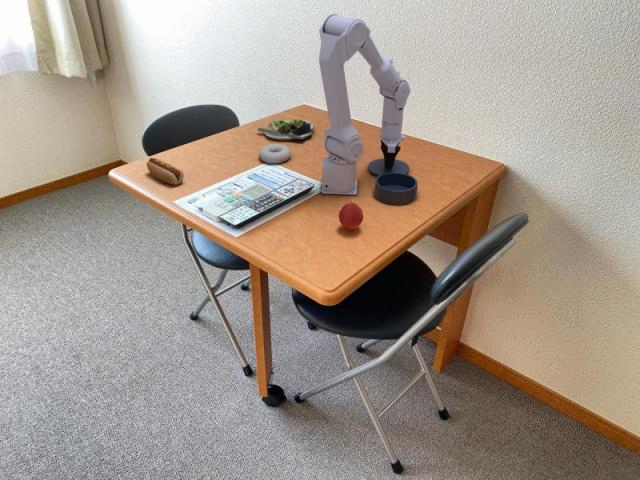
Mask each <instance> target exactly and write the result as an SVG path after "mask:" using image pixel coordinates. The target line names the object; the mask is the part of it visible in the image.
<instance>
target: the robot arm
mask: <svg viewBox="0 0 640 480" xmlns="http://www.w3.org/2000/svg"><path fill="white" fill-rule="evenodd" d="M318 32H319V38H320V48H319V56H318V63H319V69H320V74H321V75H320V76H321V80H322V81H321V82H322V86H323V92H324V99H325V104H326V110H327V115H328V122H329V126H327V128H326V129H325V130H324V142H323V146H324V149H325V151H326V152H327V153H328V156H327V157H323V158H322V163H321V164H322V165H321V179H320V180H321V182H320V183H321V194H324V195H347V196H349V195H351V196H356V195H357V193H358V180H357V164H358V163H357V162H359V160H360V159H361V157H362V156H363V154H364V147H365V146H364V143H363V142H362V140H361V138H360V137H361V136H360V133H359V132H358V130H357V129H356V128H355V127H354V125H353V123H352V115H351V109H350V103H349V95H348V87H347V81H346V74H345V73H346V72H345V66H344V65H345V64H346V62H349V61H350V59H351V58H352V57H353V56H354V55H355V54H357V52H358V53H359V54H360V55H361V56H362V58H363V59H364V60H365V61H366V62H367V64H368V65H369V66H370V68H369V74H370V75H371V77H372V78H373V79H374V81H375V82H376V83H377V85H378V87H379V89H378V90H379V94H380V95H381V96H382V97H383V101H382V102H383V103H382V117H381V128H380V129H381V131H380V135H379V139H380V150H381V152H382V156H383V158H384V164H385V168H392V167H393V165H394V161H395V159H397V156H398V154H399V153H400V151H401V150H402V149H401V146H400V143H401V141H405V140H406V135H404V134H402V131H403V121H404V110H405V107H406V105H407V100H408V98H409V97H410V94H411V91H412V90H411V88H410V84H409V82H408V81H407V80H406V79H403V78H402V77H401V73H400V72H399V71H397V70H396V67H395V66H394V65H393V64H394V61H393V59H391V58H388V57H383V56H382V55H381V53H380V51H379V49H378V47H377V46H376V44H375V42H374V40H373V39H372V37H371V29H370V28H369V27H368V25H367V23H366V22H365V21H364V20H363V19H361V18H353V17H348V16H344V15H339V14H338V13H337V14H336V13H330V14H329V15H327V16H326V17H325V18H324V20H323V22H322V24H321V25H320V27H319V30H318Z"/></svg>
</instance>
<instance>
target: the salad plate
mask: <svg viewBox="0 0 640 480" xmlns="http://www.w3.org/2000/svg"><path fill="white" fill-rule="evenodd" d="M314 127H315V126H314V124H313V122H311V121H309V120H304V119H293V120H285V119H283V120H282V119H281V120H280V119H278V120H273V121H271V122H269V123H268V124H267V126H266V128H262V127H257V129H256V131H257V132H260V133H263V134H264V135H265V136H267V137H269V138H270V139H272V140H275V141H285V142H286V141H287V142H288V141H289V142H302V141H306V140H310V139H311V137H312V136H313V134H314Z"/></svg>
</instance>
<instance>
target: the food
mask: <svg viewBox="0 0 640 480" xmlns="http://www.w3.org/2000/svg"><path fill="white" fill-rule="evenodd" d="M146 168H147V171H149V173H150V174H151V175H152V176H153V177H155V178H157V180H160V181H162V182H164V183H167V184H171V185H173V186H176V185H178V184H181V183H182V182H183V180H184V175H185V174H184V172H183V170H182V169H179V168H177V167H176V166H174V165H172V164H171V163H168V162H166V161H164V160H162V159H158V158H156V157H150V158H149V159H148V161H146Z"/></svg>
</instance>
